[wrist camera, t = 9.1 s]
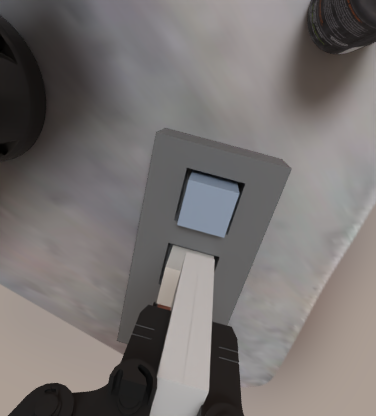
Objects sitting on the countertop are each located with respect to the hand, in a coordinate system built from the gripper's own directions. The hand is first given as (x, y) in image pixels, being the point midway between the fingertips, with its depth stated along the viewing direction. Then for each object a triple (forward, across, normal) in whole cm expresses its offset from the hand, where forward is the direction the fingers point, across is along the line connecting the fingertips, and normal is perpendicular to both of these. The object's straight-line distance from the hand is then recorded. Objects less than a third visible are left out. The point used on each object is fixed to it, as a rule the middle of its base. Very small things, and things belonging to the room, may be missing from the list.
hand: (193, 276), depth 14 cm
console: (+16, 0, -8) cm, 18 cm away
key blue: (+14, 0, 0) cm, 14 cm away
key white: (+12, 0, -8) cm, 15 cm away
